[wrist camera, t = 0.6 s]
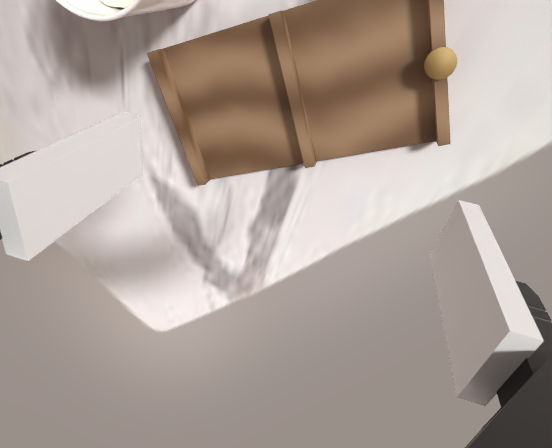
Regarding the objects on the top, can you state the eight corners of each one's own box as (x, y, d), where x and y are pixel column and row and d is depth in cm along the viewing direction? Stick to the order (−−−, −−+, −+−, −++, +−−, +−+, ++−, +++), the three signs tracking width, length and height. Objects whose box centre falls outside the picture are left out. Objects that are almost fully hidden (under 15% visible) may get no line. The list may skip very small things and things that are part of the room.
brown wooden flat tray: (159, 50, 37) (144, 53, 35) (446, -40, 29) (453, -45, 26) (206, 176, 44) (195, 187, 41) (454, 134, 35) (460, 144, 32)
